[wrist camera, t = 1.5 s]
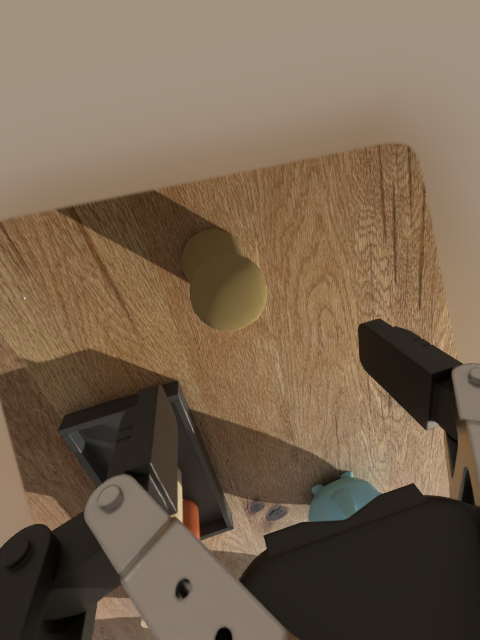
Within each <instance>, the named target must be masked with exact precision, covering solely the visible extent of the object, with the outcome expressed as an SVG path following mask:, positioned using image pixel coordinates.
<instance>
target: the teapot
mask: <svg viewBox="0 0 480 640" xmlns="http://www.w3.org/2000/svg"><path fill="white" fill-rule="evenodd" d="M340 478H341V479H339V480H336V481H334V482H332V483H330V484H328V485H326V486H325V487H324V486H323V485H316V486H314V487H313V488H312V493H313V494H314V495H315V497H314V498H313V500H312V503H311V506H310V509H309V514H308V518H309V522H316V521H335V520H345V519H347V518H349V517H350V516H352V515H353V514H354V513H356V512H357V511H358V510H359V509H361V508H362V507H363V506H365V505H366V504H367V503H369V502H370V501H371V500H373V499H374V498H375V497H377V496H378V495H381V494H382V493H379V492H378V490H377V489H376V488H375V487H374V486H373V485H372V484H370V483H368V482H366V481H363V480H360V479H357V478H353V475H352V472H345V473H343V474H342V475H341V477H340Z"/></svg>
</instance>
